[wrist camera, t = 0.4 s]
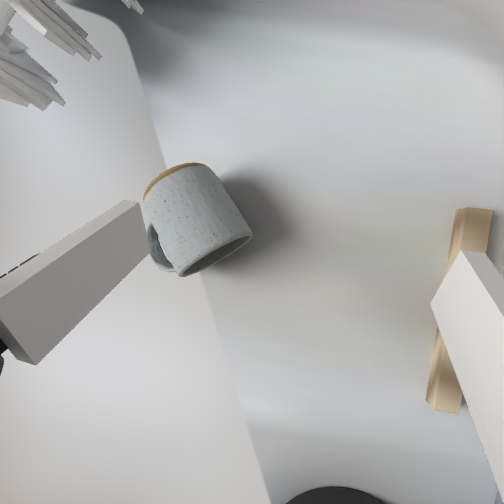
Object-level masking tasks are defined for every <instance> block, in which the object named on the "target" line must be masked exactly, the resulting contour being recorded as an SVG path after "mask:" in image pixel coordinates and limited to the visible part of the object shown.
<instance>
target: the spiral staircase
mask: <svg viewBox="0 0 504 504" xmlns="http://www.w3.org/2000/svg"><path fill="white" fill-rule="evenodd" d="M122 1H123V2H124V4H125V5H126V6H127V7H128V8H129V9H130V7H132V8H133V9H134V10H136V11H137V12H138V13H139V14H142V13H143V12H144V10H143V8H142V7H141V6H140V4H139V3H138V2H137V1H136V0H122ZM16 11H17V12H18V13H19V14H20V15H21V16H23V17H24V18H25V19H26V20H27V21H28V22H29V23H30V24H31V25H32V26H33V27H34V28H36V29H37V30H38V31H39V32H40V33H41V34H42V35H43V36H45V37H46V38H47V39H49V40H50V41H52V42H53V43H55V44H56V45H58V46H59V47H61V48H62V49H64V50H65V51H67V52H68V53H70V54H71V55H74V54H75V53H76V51H77V52H78V53H79V54H80V55H81V56H83V57H84V58H85V59H86V60H87V61H89V60H90V58H91V54H93V55H94V56H95V57H96V58H97V59H98V60H100V58H101V57H102V56H101V55H100V54H99V53H98V52H97V51H96V50H95V49H94V48H93V47H92V46H91V45H90V44H89V43H88V42H87V41H86V40H85V39H84V38H83V37H82V36H84V37H85V38H86V36H87V35H88V34H87V33H86V32H85V31H84V30H83V29H82V28H81V27H80V26H79V25H78V24H77V23H76V22H75V21H73V19H72V18H70V17H69V15H68V14H66V13H65V12H64V11H63V10H62V9H61V8H60V7H59V6H58V5H57V4H56V3H55V0H0V98H1V99H4V100H7V101H11V102H13V103H16V104H20V105H23V106H26V107H27V106H28V105H29V104H30V103H32V104H33V105H35V106H36V107H38V108H39V109H40V110H42V111H44V110H45V109H46V108H47V107H48V106H49V105H50V104H51V102H52V101H53V100H54V101H55V102H57V103H59V104H60V105H62V106H64V104H65V103H66V102H65V101H64V100H63V99H62V97H61V96H60V95H59V93H58V92H57V91H56V90H55V89H54V87H53V86H52V85H51V83H53V84H56V83H57V80H56V79H55V78H54V77H53V76H52V75H51V74H49V73H48V72H47V71H46V70H45V69H44V68H43V67H42V66H41V65H40V64H39V63H37V62H36V61H35V60H34V59H33V58H32V57H31V56H30V55H29V54H28V53H26V52H28V50H29V48H28V47H27V46H26V45H24V44H23V43H22V42H21V41H20V40H18V39H17V38H16V37H14V36H13V35H12V34H11V31H12V28H11V27H9V25H8V24H9V22H10V20H11V19H12V17H13V16H14V14H15V12H16ZM69 24H70V25H71V26H72V27H71V26H70V25H69ZM76 30H77V31H78V32H79V33H80V34H81V35H82V36H81V35H80V34H79V33H78V32H77V31H76ZM84 47H85V48H86V49H85V48H84ZM74 49H75V50H76V51H75V50H74ZM90 53H91V54H90ZM46 80H47V81H46ZM48 81H49V82H51V83H49V82H48Z"/></svg>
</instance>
